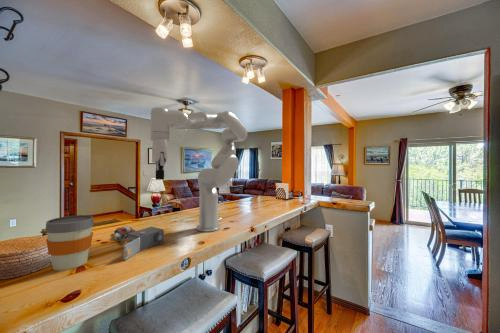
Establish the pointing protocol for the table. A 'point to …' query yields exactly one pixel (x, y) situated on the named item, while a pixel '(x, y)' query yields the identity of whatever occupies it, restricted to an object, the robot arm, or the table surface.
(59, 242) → the reusable coffee cup
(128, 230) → the walkie-talkie
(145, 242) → the camera body
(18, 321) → the table surface
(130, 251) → the side door
